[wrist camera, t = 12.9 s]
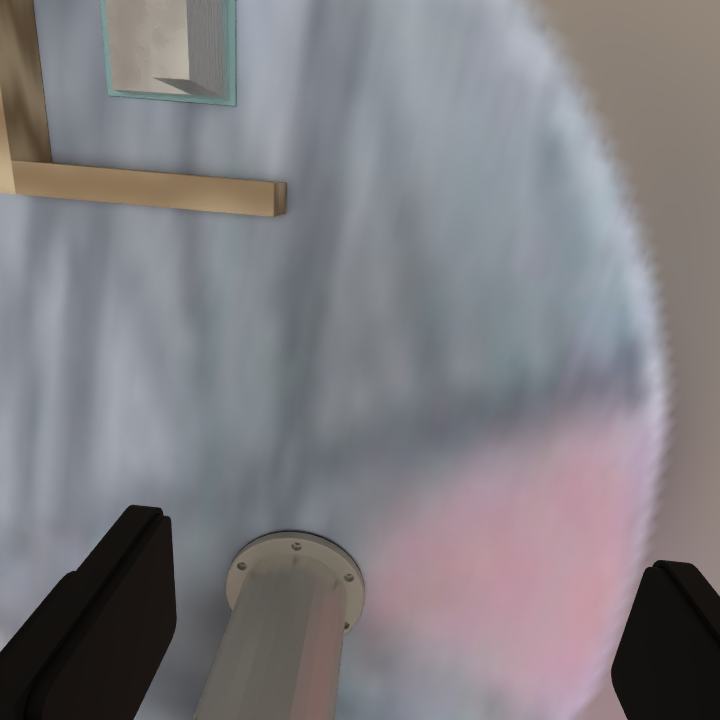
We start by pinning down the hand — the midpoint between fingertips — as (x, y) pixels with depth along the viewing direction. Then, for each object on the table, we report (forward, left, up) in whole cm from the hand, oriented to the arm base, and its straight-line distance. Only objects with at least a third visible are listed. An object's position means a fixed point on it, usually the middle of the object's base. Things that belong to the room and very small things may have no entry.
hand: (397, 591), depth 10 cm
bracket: (+16, +15, -28) cm, 36 cm away
